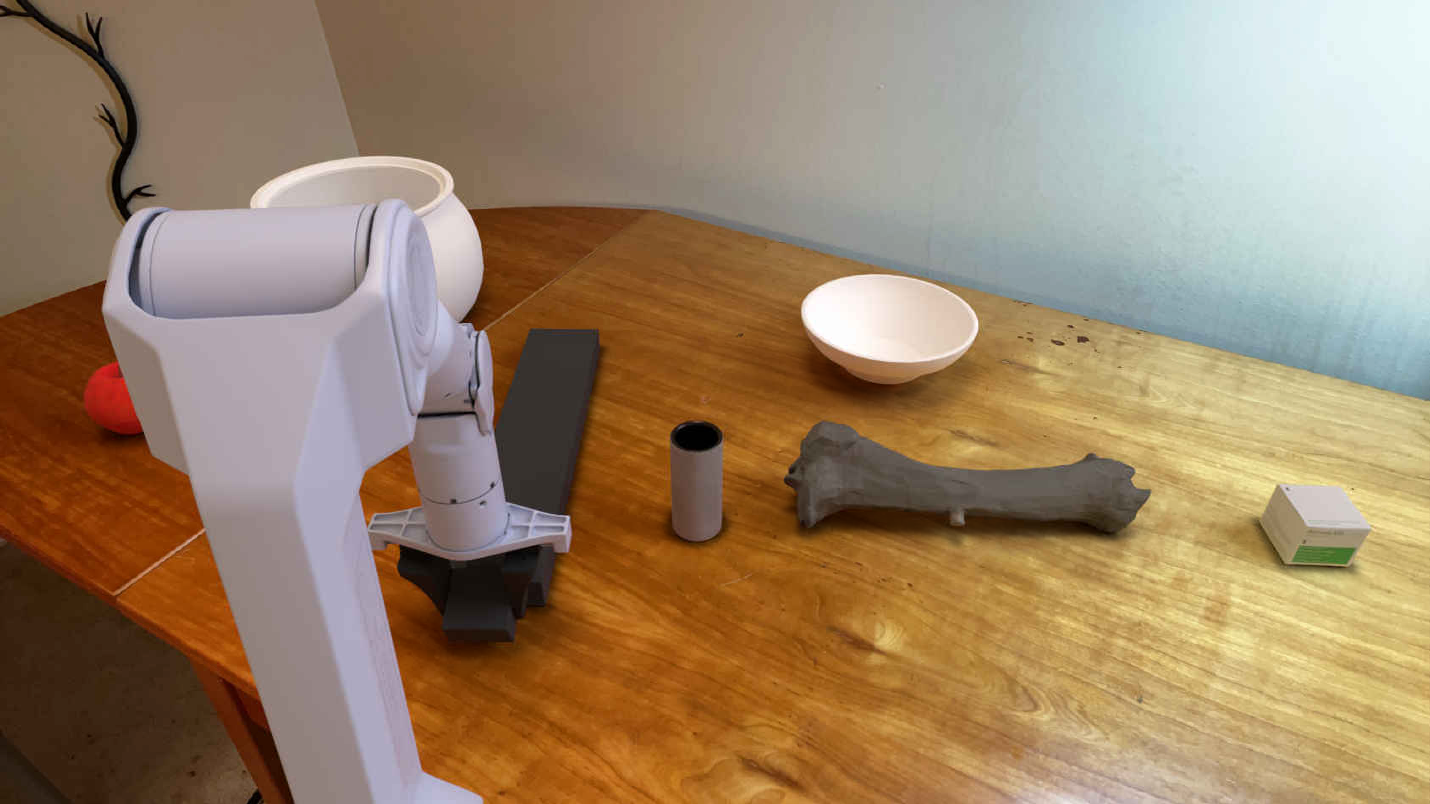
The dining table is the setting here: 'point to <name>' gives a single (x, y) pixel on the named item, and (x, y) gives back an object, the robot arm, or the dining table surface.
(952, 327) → the bowl
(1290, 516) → the small box
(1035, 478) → the bone
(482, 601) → the pad
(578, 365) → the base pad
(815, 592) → the dining table surface
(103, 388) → the apple
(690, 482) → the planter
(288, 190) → the pot
